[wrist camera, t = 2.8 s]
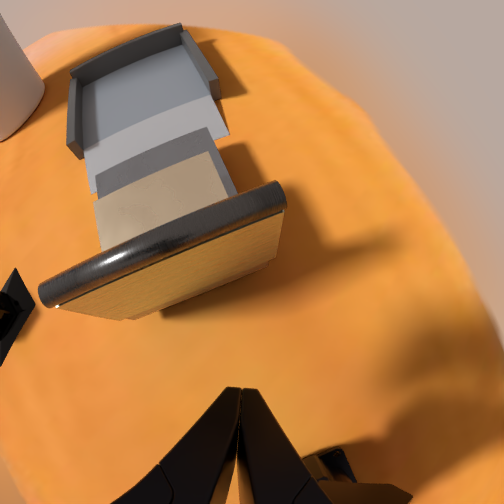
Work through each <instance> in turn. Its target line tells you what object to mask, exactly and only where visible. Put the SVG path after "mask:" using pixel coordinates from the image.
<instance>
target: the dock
mask: <svg viewBox="0 0 504 504" xmlns="http://www.w3.org/2000/svg"><path fill="white" fill-rule="evenodd" d="M70 74H71V76H72V79H70V87H69V98H68V111H67V138H66V145H67V146H68V147H69V149H70V150H71V151H72V152H73V153H74V154H75V156H76V157H77V158H78V159H79V160H80V159H82V158H84V157H85V163H86V169H87V175H88V181H89V186H90V191H91V194H93V193H95V192H97V187H96V180H95V175H97V174H99V173H101V172H103V171H105V170H107V169H109V168H111V167H113V166H115V165H117V164H119V163H121V162H123V161H125V160H127V159H129V158H131V157H134V156H136V155H138V154H140V153H142V152H145V151H147V150H149V149H151V148H154V147H156V146H158V145H161V144H163V143H165V142H168V141H170V140H173V139H175V138H178V137H180V136H183V135H185V134H188V133H191V132H193V131H196V130H199V129H201V128H204V127H207V128H208V130H209V132H210V135H211V137H212V139H213V141H214V140H216V139H219V138H222V137H225V136H228V135H230V134H229V132H228V130H227V128H226V126H225V124H224V121H223V119H222V117H221V115H220V113H219V111H218V109H217V107H216V105H215V103H214V101H215V100H218V99H221V92H220V85H219V79H218V77H217V75H216V74H215V72H214V71H213V69H212V67H211V66H210V64H209V63H208V61H207V60H206V58H205V57H204V55H203V53H202V52H201V50H200V49H199V47H198V46H197V44H196V43H195V41H194V40H193V38H192V37H191V35H190V34H189V33H188V31H187V30H183V28H182V24H181V23H177V24H174V25H171V26H168V27H165V28H162V29H159V30H156V31H153V32H151V33H148V34H145V35H143V36H140V37H138V38H135V39H133V40H130V41H128V42H126V43H123V44H121V45H119V46H116V47H114V48H112V49H110V50H108V51H106V52H104V53H101V54H99V55H97V56H95V57H93V58H92V59H90V60H88V61H86V62H84V63H82V64H80V65H78V66H77V67H75V68H73V69H71V70H70Z"/></svg>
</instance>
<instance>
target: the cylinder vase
mask: <svg viewBox="0 0 504 504" xmlns="http://www.w3.org/2000/svg"><path fill="white" fill-rule="evenodd" d="M44 90H45V85H44V82H43V81H42V79H41V78H40V76H39V75H38V73H37V72H36V71H35V69H34V67H33V66H32V64H31V63H30V61H29V60H28V58H27V57H26V55H25V54H24V52H23V51H22V49H21V47H20V46H19V44H18V43H17V41H16V39H15V38H14V36H13V35H12V33H11V31H10V30H9V28H8V26H7V24H6V23H5V21H4V19H3V18H2V16H1V14H0V141H2V140H4V139H6V138H8V137H9V136H10V135H12V134H13V133H14V132H15V131H16V130H17V129H19V128H20V127H21V126H22V125H23V124H24V122H25V121H26V120H27V119H28V118H29V117H30V116H31V114H32V113H33V112H34V110H35V109H36V107H37V106H38V104H39V103H40V101H41V99H42V97H43V94H44Z"/></svg>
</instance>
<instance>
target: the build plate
mask: <svg viewBox="0 0 504 504" xmlns="http://www.w3.org/2000/svg"><path fill="white" fill-rule="evenodd" d="M34 307H35V302H34V300H33V299H32V297H31V295H30V293H29V292H28V290H27V288H26V286H25V284H24V282H23V280H22V278H21V277H20V275H19V273H18V271H17V269H16V268H15V269H14V270H13V272H12V273H11V275H10V277H9V278H8V280H7V282H6V283H5V285H4V287H3V288H2V290H1V291H0V367H1V366H2V364H3V362H4V360H5V358H6V356H7V354H8V352H9V350H10V348H11V346H12V344H13V343H14V341H15V339H16V337H17V335H18V334H19V332H20V330H21V329H22V327H23V325H24V323H25V322H26V320H27V318H28V317H29V315H30V314H31V312H32V310H33V309H34Z"/></svg>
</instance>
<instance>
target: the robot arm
mask: <svg viewBox="0 0 504 504" xmlns="http://www.w3.org/2000/svg"><path fill="white" fill-rule="evenodd" d="M241 395H242V398H241ZM240 408H241V410H240ZM239 420H240V423H239ZM238 433H239V435H238ZM237 445H238V447H237ZM337 451H339V454H337V455H334V453H335V452H337ZM236 455H237V473H238V486H239V499H240V504H410V502H411V500H412V498H413V496H412V495H411V494H409V493H407V492H405V491H403V490H401V489H399V488H398V487H396V486H394V485H392V484H368V483H357V481H356V479H355V477H354V474H353V472H352V470H351V467H350V465H349V463H348V461H347V458H346V456H345V454H344V451H343V450H342V449H341V448H340V447H334V448H332V449H329V450H327V451H325V452H323V453H321V454H318V455H311V456H309V457H307V458H304V459H301V457H300V456H299V454H298V453H297V451H296V450H295V448H294V447H293V445H292V444H291V442H290V441H289V439H288V438H287V436H286V434H285V433H284V431H283V430H282V428H281V426H280V425H279V423H278V422H277V420H276V418H275V417H274V415H273V414H272V412H271V410H270V409H269V407H268V405H267V404H266V402H265V400H264V399H263V397H262V395H261V394H260V392H259V391H258V390H257V389H252V388H243V389H241V388H239V387H226V388H225V389H224V390H223V392H222V393H221V394H220V395H219V396H218V397H217V399H216V400H215V401H214V402H213V403H212V404H211V406H210V407H209V408H208V409H207V410H206V411H205V413H204V414H203V415H202V416H201V417H200V418H199V419H198V420H197V422H196V423H195V424H194V425H193V426H192V427H191V428H190V429H189V431H188V432H187V433H186V434H185V435H184V436H183V437H182V438H181V439H180V440H179V441H178V443H177V444H176V445H175V446H174V447H173V448H172V449H171V450H170V451H169V452H168V453H167V454H166V455H165V456H164V457H163V459H162V460H161V461H160V462H159V464H157V465H156V466H155V467H154V468H153V469H152V470H151V471H150V472H149V473H148V474H147V475H146V476H145V477H143V478H142V479H141V480H140V481H139V482H138V483H137V484H136V485H135V486H134V487H132V488H131V489H130V490H128V491H127V492H126V493H124V494H123V495H122V496H120V497H119V498H118V499H116V500H115V501H113V502H112V503H110V504H225V503H226V499H227V495H228V491H229V487H230V483H231V479H232V475H233V471H234V467H235V462H236Z"/></svg>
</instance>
